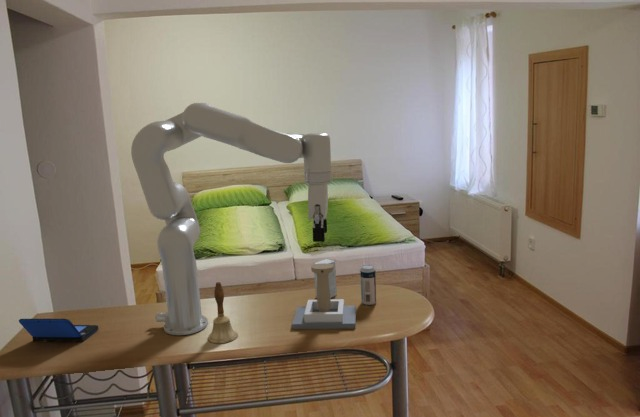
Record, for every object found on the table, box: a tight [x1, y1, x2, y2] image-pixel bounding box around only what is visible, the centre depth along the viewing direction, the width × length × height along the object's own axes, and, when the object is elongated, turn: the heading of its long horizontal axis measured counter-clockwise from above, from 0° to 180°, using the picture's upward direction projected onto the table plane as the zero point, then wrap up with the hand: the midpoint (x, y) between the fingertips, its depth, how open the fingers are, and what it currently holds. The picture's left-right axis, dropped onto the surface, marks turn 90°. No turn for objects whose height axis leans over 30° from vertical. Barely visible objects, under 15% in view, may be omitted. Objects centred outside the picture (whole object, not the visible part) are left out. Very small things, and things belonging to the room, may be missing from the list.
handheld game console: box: [18, 318, 99, 344], centre depth 147 cm, size 16×13×9 cm
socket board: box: [291, 298, 357, 330], centre depth 151 cm, size 18×13×4 cm
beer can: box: [359, 264, 377, 306], centre depth 161 cm, size 5×5×12 cm
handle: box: [310, 263, 333, 312], centre depth 150 cm, size 5×6×15 cm
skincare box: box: [313, 258, 338, 299], centre depth 168 cm, size 6×4×12 cm
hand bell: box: [207, 281, 239, 344], centre depth 142 cm, size 8×8×16 cm
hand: (320, 236), depth 146 cm, fingers open, 9 cm apart
